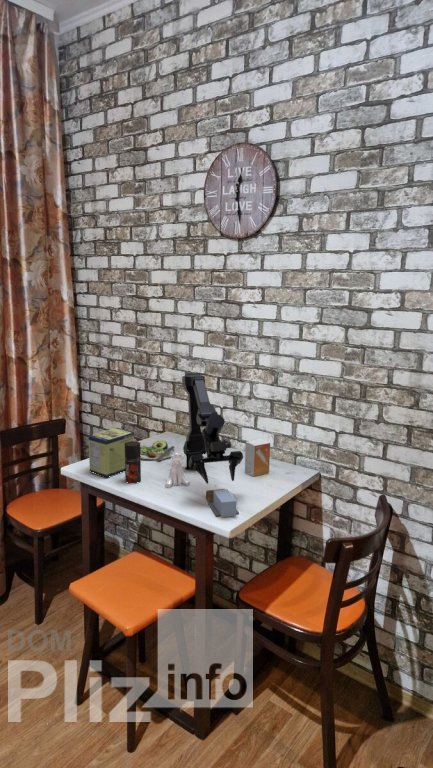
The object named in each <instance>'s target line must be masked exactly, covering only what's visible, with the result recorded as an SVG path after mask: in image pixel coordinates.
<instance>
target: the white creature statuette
mask: <svg viewBox="0 0 433 768" xmlns="http://www.w3.org/2000/svg"><path fill="white" fill-rule="evenodd" d="M185 457H186V455H185V454H183V455H182V453H180V452H176V453H173V455H170V457H169V458H171V462H172V463H171V464H172V465H171V467H170V470H169V474H168V479H167V480H166V482H165V486H164V487H165V488H166V489H170V488H171V487H177V486H178V487H180V486H182V487H183V486H185V487H187V488H188V487H189V488H190V486H191V481H190V480H189V479H188V478H187V477H186V476H185V475H184V473H183V472H184V470H183V467H182V464H183V463H184V458H185ZM167 487H168V488H167Z"/></svg>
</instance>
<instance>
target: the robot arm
mask: <svg viewBox="0 0 433 768" xmlns="http://www.w3.org/2000/svg"><path fill="white" fill-rule="evenodd" d="M181 382H182V385H183V390H184V391H185V393H186V394H187V397H188V398H187V399H188V400H187V402H188V423H189V431H188V432H187V434H186V437H185V441H184V444H183V449H182V450H183V453H184V454H183V455H185V457H186V459H185V460H186V462H185V463H186V466H185V470H189V471H191V470H192V471H196V472H197V473H198V475H200V476H201V478H202V479H203V480H204V481H205V483H206V484H209V478H208V474H207V471H206V467H205V465H206V464H207V463H219V462H228V464H229V465H228V468H229V473H230V479H231V481H232V482H234V481H235V476H236V475H235V473H236V468H237V466H239V464H241V462H242V460H243V459H244V454H243V452H242V451H241V450H235V451H234V450H233V451H230V453H229V455H227V454H226V455H225V453H226V451H227V449H231V448H232V443H231V439H230V438H225V439H223V441H222V440H221V439H220V433H221V432H222V430H223V428H224V425H225V418H224V417H223V416H222V415H220V414H218V412H217V410H216V408H215V407H214V406H213V405H212V404H211V402H210V399H209V398H210V397H209V394H208V390H207V387H206V375H202V374H201V372H187V373H184V375H183V376H182V377H181ZM202 427H204V428H203V429H202ZM201 429H202V430H201ZM203 455H206V456H203Z"/></svg>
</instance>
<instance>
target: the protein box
mask: <svg viewBox="0 0 433 768" xmlns="http://www.w3.org/2000/svg"><path fill="white" fill-rule="evenodd" d="M130 441H135V432H134V431H131V430H127V429H124V428H120V427H113V428H110V429H107V430H104V431H100V432H97V433H94V434H89V436H88V452H89V453H88V455H89V456H88V458H89V460H88V461H89V462H88V463H89V472H90V471H91V472H94V473H96V474H99V475H101V476H100V477H102V476H104V477H103V478H105V477H109V476H112V475H114V476H116V475H115V474H117V475H119V474H121V473H120V472H122V473H124V472H123V471H125V443H126V442H130ZM118 473H119V474H118ZM96 474H95V475H96ZM99 475H98V476H99ZM112 477H113V476H112ZM109 478H110V477H109Z"/></svg>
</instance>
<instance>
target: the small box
mask: <svg viewBox="0 0 433 768" xmlns="http://www.w3.org/2000/svg"><path fill="white" fill-rule="evenodd" d="M244 446H245V450H244V473H246V474H248V475H249V476H252V477H257V476H261V475H266V474H270V461H271V460H270V458H271V442H270V441H268V440H265V439H263V438H259V439H258V438H257V439H253V440H249V441H245V445H244Z"/></svg>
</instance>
